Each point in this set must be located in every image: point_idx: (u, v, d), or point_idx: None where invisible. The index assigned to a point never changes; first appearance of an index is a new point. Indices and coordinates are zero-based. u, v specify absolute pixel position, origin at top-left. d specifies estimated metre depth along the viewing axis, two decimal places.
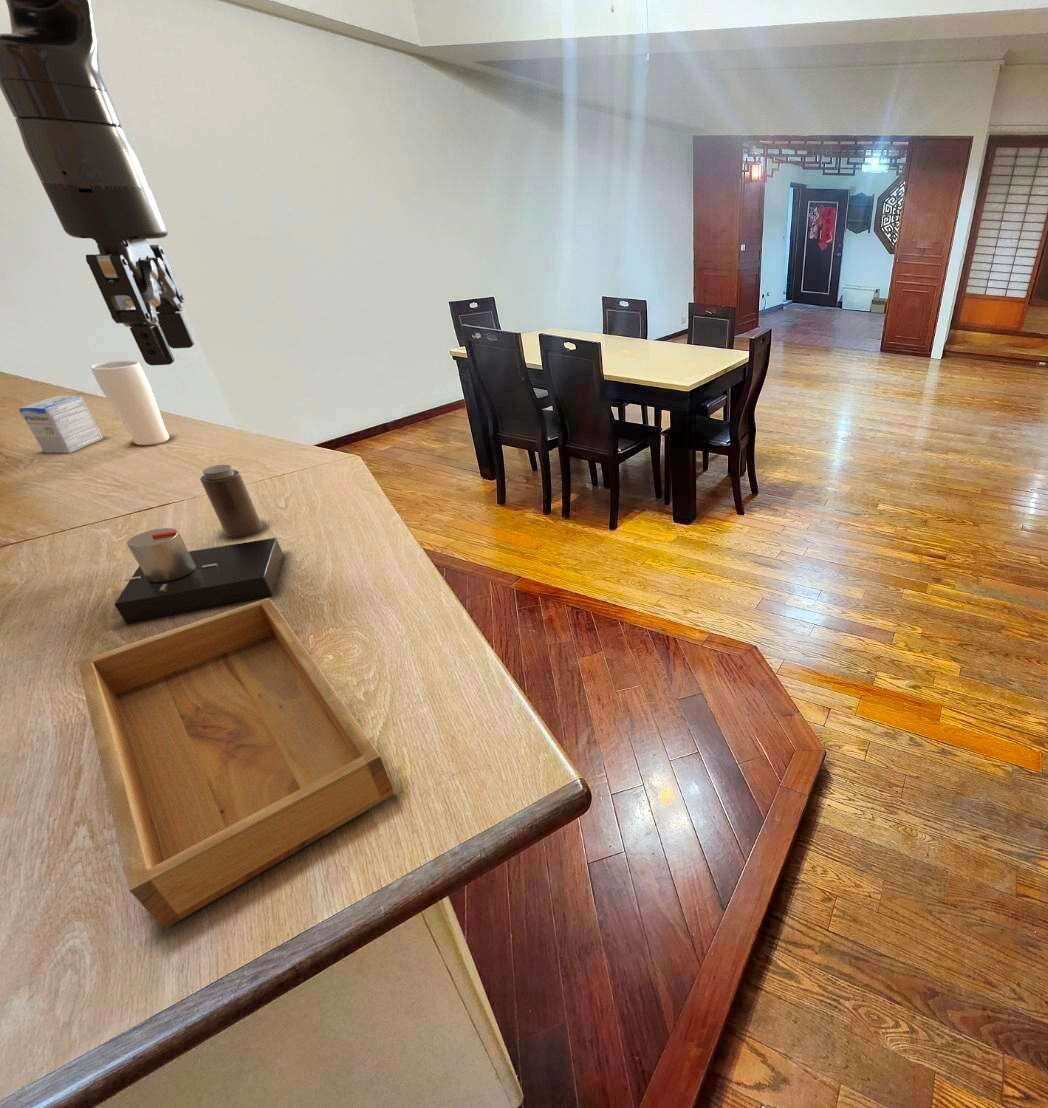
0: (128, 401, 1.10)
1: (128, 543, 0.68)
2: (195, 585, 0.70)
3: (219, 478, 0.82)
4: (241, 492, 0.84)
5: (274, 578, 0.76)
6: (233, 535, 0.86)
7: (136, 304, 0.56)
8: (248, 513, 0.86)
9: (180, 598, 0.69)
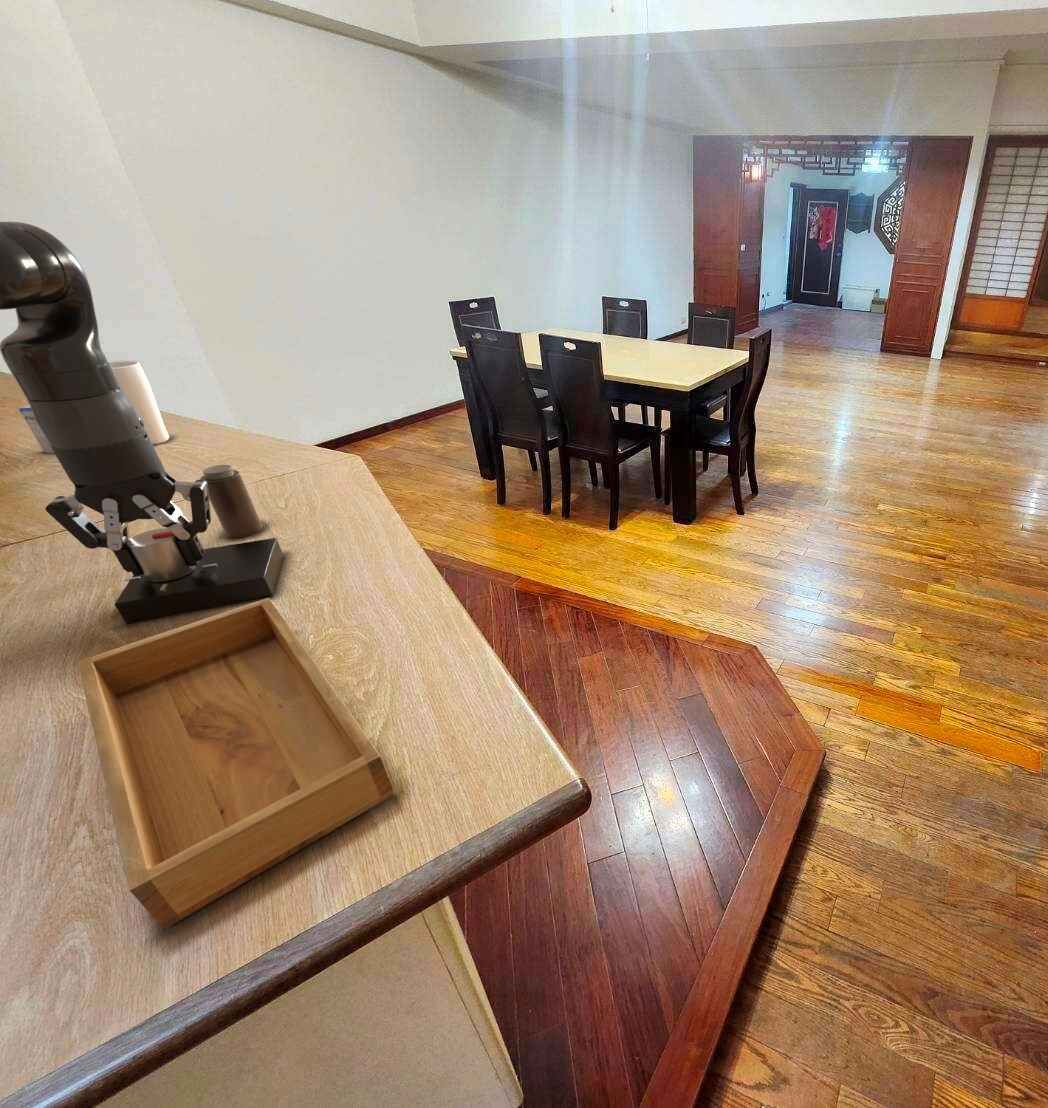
0: None
1: (128, 543, 0.68)
2: (195, 585, 0.70)
3: (219, 478, 0.82)
4: (241, 492, 0.84)
5: (274, 578, 0.76)
6: (233, 535, 0.86)
7: (209, 512, 0.72)
8: (248, 513, 0.86)
9: (180, 598, 0.69)
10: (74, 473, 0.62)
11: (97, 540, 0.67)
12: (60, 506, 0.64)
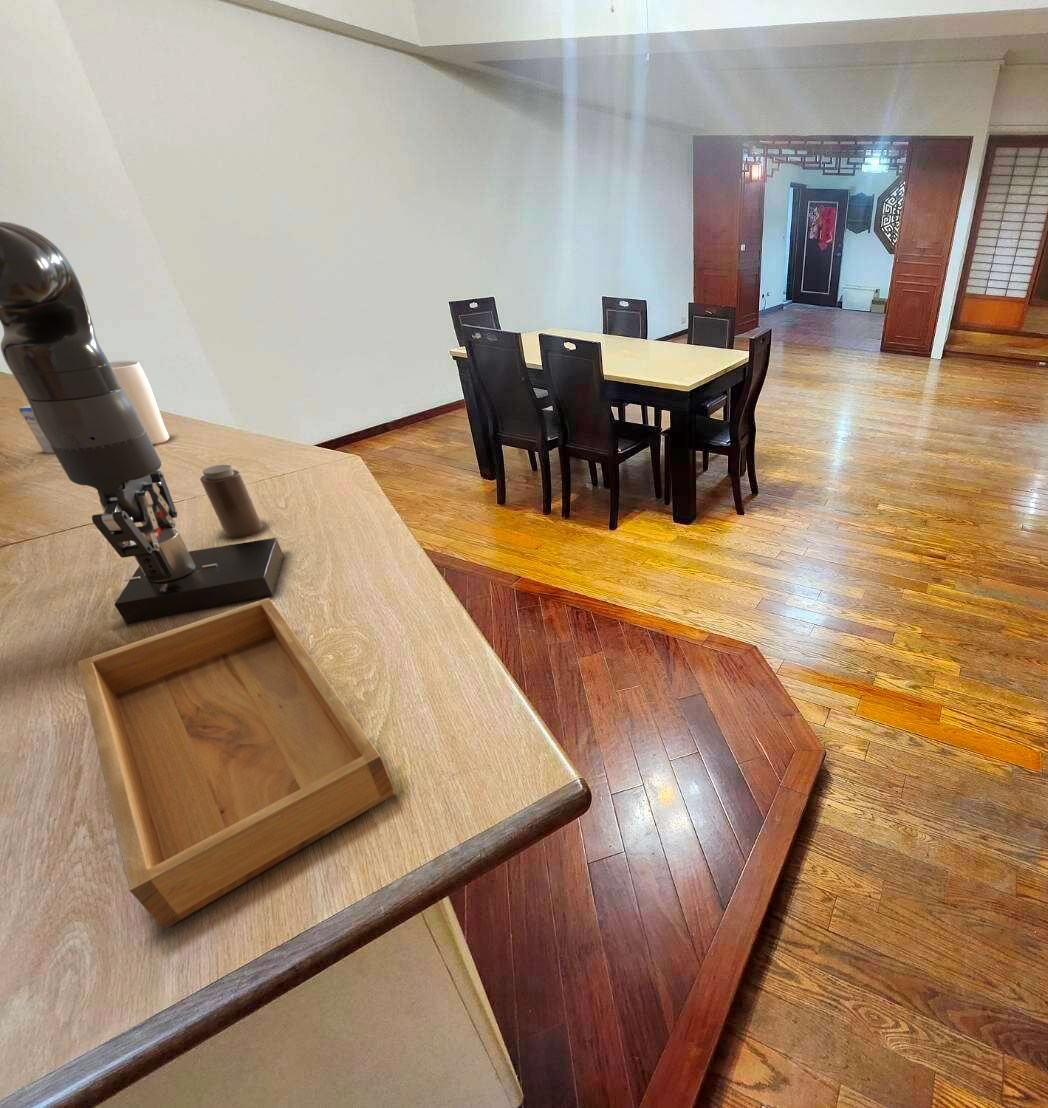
0: None
1: None
2: (195, 585, 0.70)
3: (219, 478, 0.82)
4: (241, 492, 0.84)
5: (274, 578, 0.76)
6: (233, 535, 0.86)
7: None
8: (248, 513, 0.86)
9: (180, 598, 0.69)
10: (140, 464, 0.65)
11: None
12: None
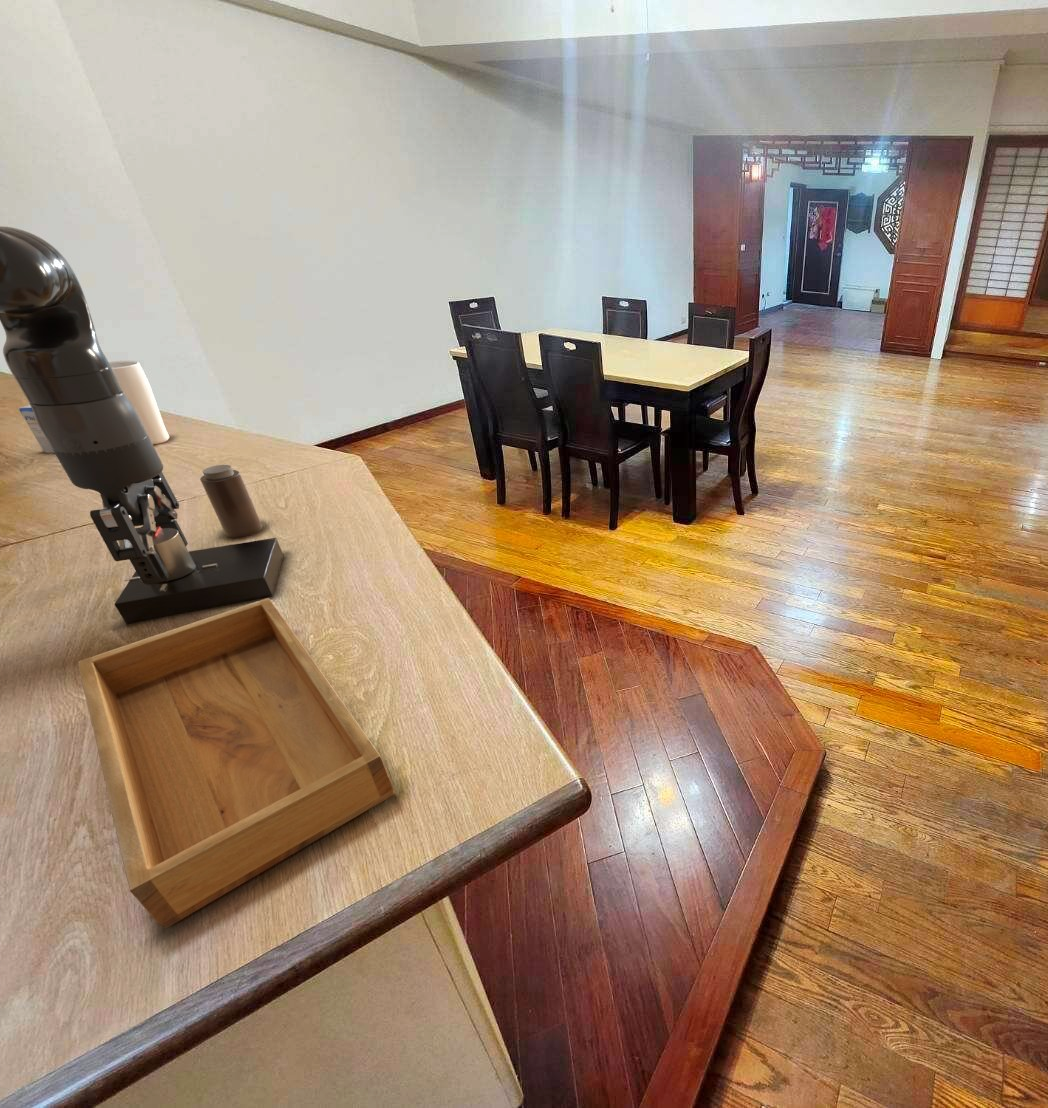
0: None
1: (156, 543, 0.69)
2: (195, 585, 0.70)
3: (219, 478, 0.82)
4: (241, 492, 0.84)
5: (274, 578, 0.76)
6: (233, 535, 0.86)
7: None
8: (248, 513, 0.86)
9: (180, 598, 0.69)
10: (143, 467, 0.65)
11: None
12: None
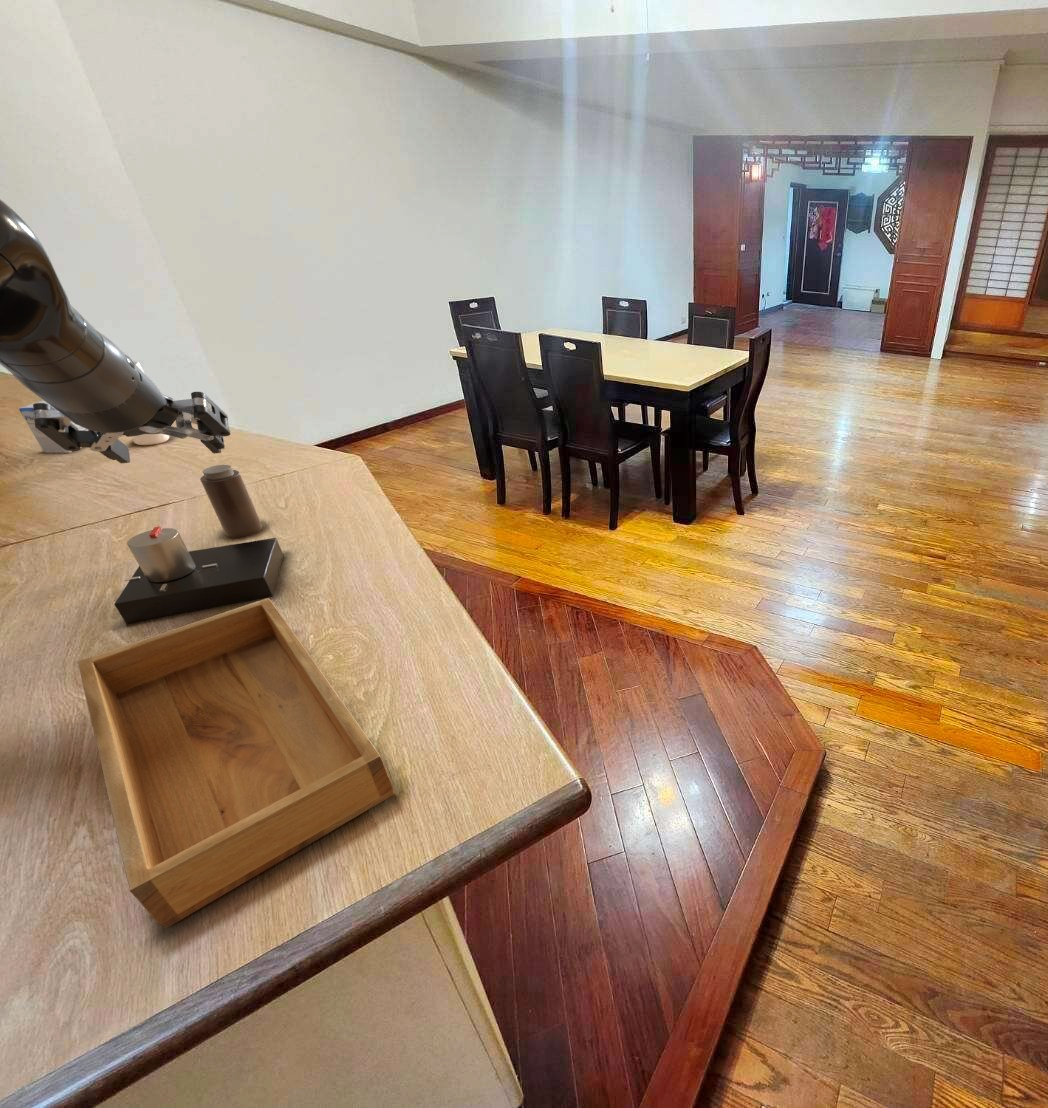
0: None
1: (156, 543, 0.69)
2: (195, 585, 0.70)
3: (219, 478, 0.82)
4: (241, 492, 0.84)
5: (274, 578, 0.76)
6: (233, 535, 0.86)
7: (222, 412, 0.68)
8: (248, 513, 0.86)
9: (180, 598, 0.69)
10: (78, 423, 0.57)
11: (76, 443, 0.63)
12: (52, 424, 0.59)
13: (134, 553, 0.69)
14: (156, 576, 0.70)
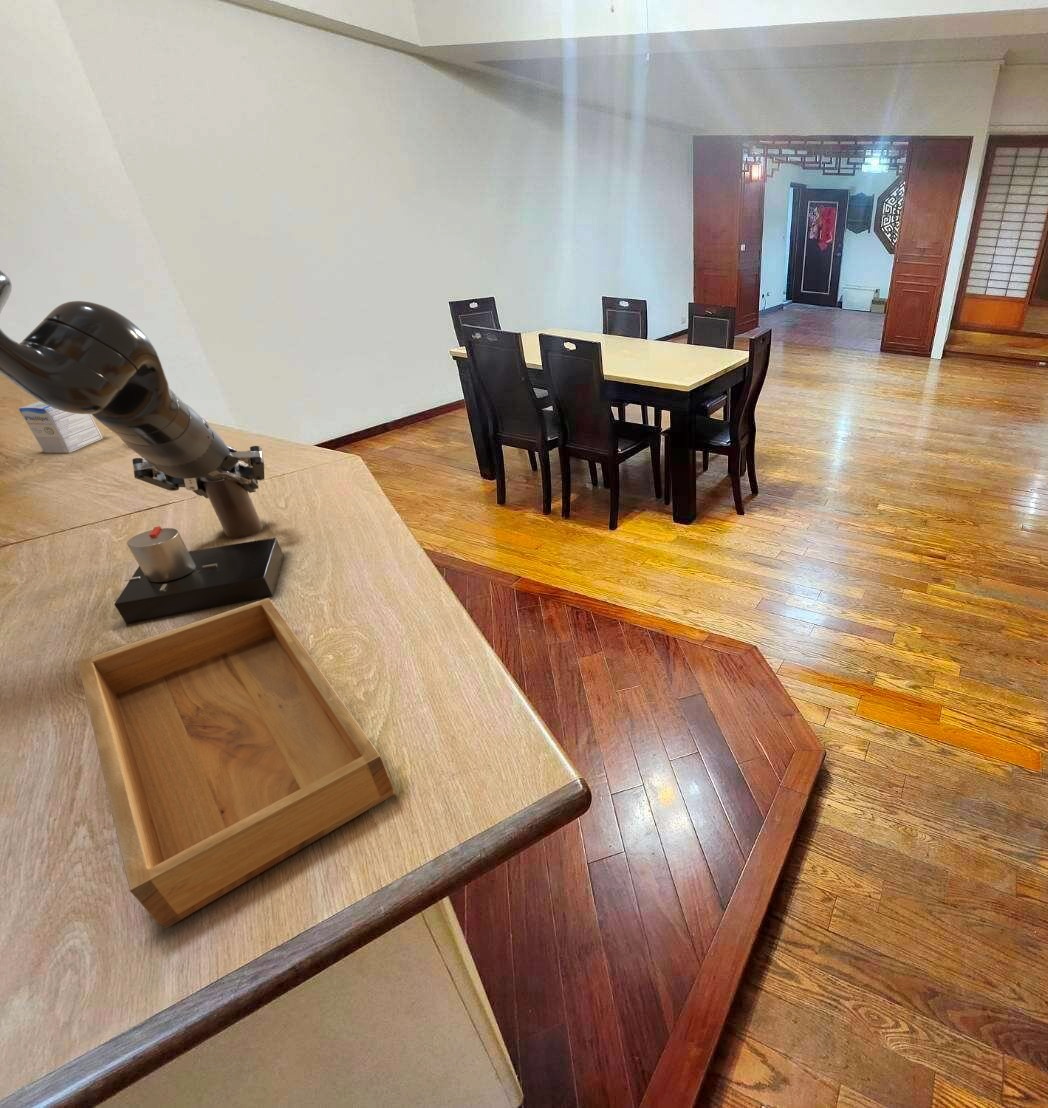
0: None
1: (156, 543, 0.69)
2: (195, 585, 0.70)
3: (219, 478, 0.82)
4: (241, 492, 0.84)
5: (274, 578, 0.76)
6: (233, 535, 0.86)
7: None
8: (248, 512, 0.86)
9: (180, 598, 0.69)
10: (164, 472, 0.72)
11: (176, 484, 0.80)
12: (145, 474, 0.75)
13: (134, 553, 0.69)
14: (156, 576, 0.70)
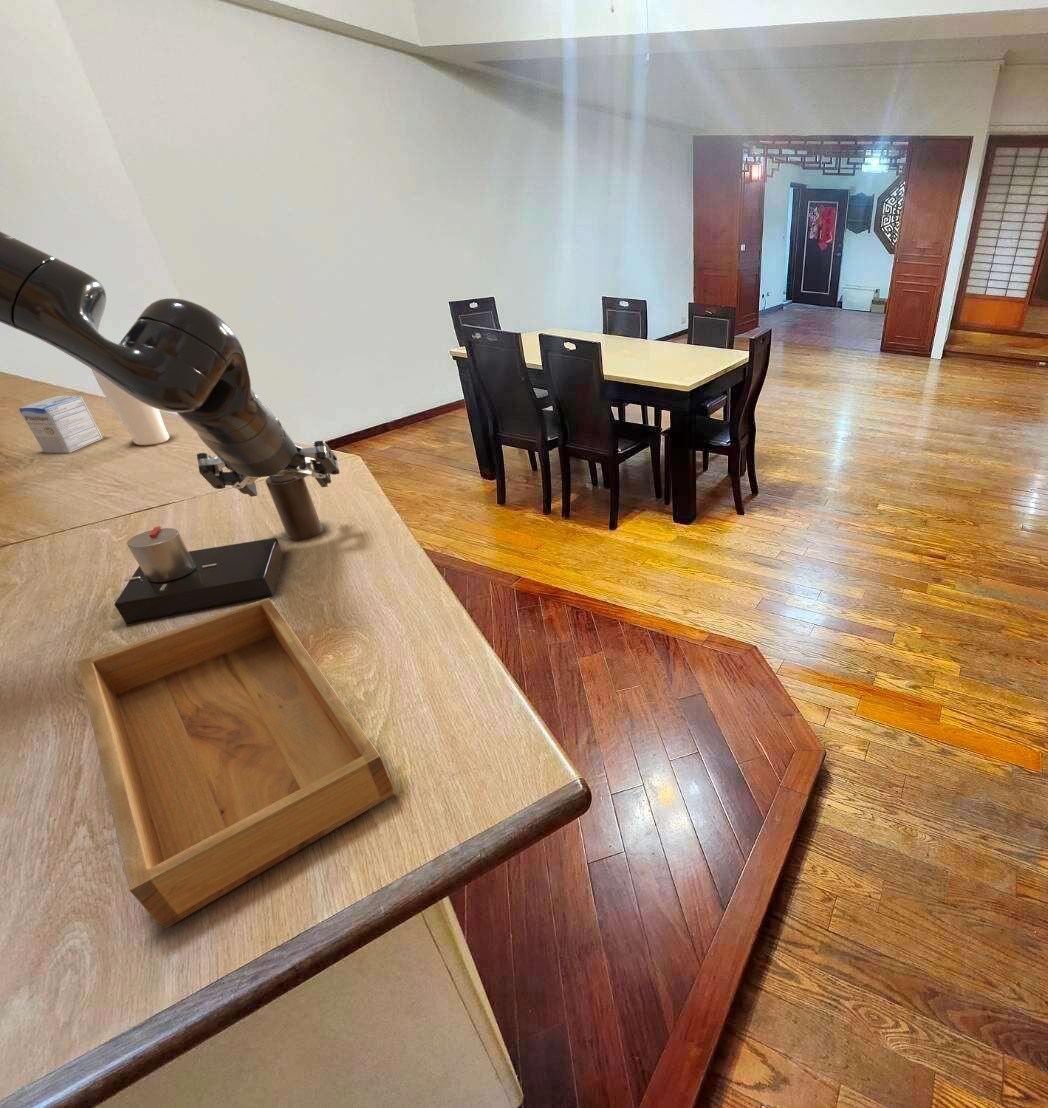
0: (128, 401, 1.10)
1: (156, 543, 0.69)
2: (195, 585, 0.70)
3: (284, 480, 0.82)
4: (305, 494, 0.85)
5: (274, 578, 0.76)
6: (295, 537, 0.86)
7: (334, 455, 0.83)
8: (311, 515, 0.86)
9: (180, 598, 0.69)
10: (236, 470, 0.72)
11: (223, 482, 0.78)
12: (211, 470, 0.74)
13: (134, 553, 0.69)
14: (156, 576, 0.70)
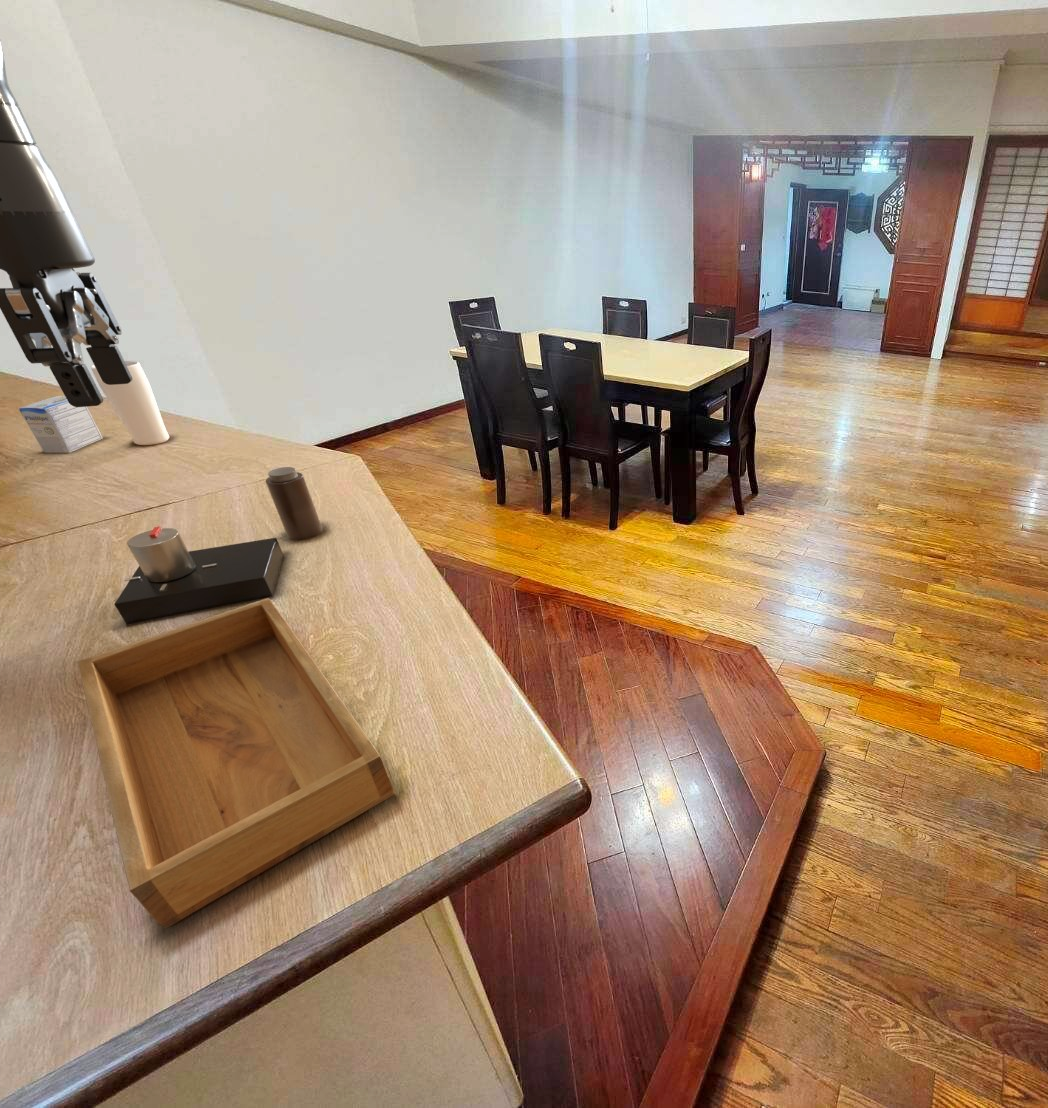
0: (128, 401, 1.10)
1: (156, 543, 0.69)
2: (195, 585, 0.70)
3: (284, 480, 0.82)
4: (305, 494, 0.85)
5: (274, 578, 0.76)
6: (295, 537, 0.86)
7: None
8: (311, 515, 0.86)
9: (180, 598, 0.69)
10: (66, 248, 0.52)
11: None
12: None
13: (134, 553, 0.69)
14: (156, 576, 0.70)
